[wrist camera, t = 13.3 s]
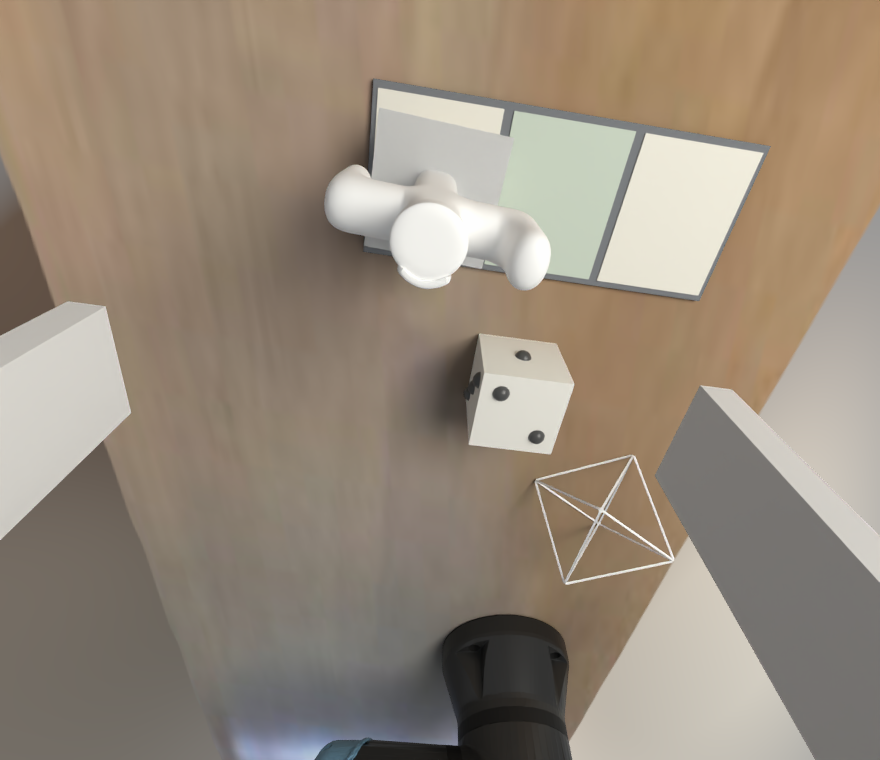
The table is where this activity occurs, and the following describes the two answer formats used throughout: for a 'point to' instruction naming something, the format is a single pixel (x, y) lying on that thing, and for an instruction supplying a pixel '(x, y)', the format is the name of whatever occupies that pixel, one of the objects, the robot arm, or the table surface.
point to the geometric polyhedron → (602, 518)
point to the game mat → (604, 188)
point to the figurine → (438, 203)
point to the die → (516, 394)
